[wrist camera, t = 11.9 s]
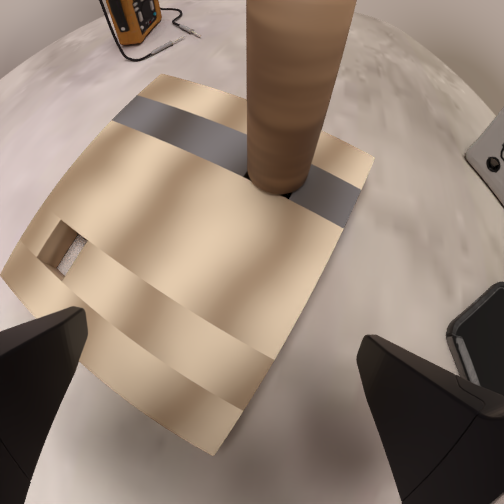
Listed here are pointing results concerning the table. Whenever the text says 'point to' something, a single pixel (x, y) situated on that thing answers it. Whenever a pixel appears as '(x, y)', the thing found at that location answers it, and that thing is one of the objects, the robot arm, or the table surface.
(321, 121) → the brown round-topped cylinder
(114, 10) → the multimeter
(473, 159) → the electrical switch
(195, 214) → the board
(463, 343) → the phone
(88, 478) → the table surface
